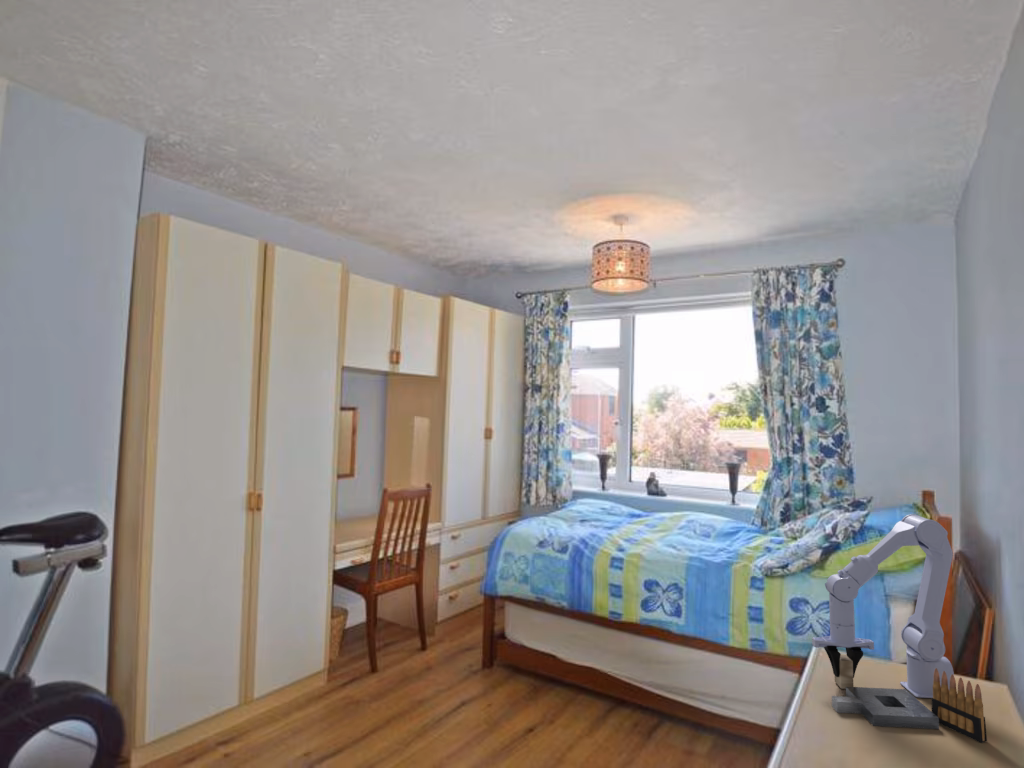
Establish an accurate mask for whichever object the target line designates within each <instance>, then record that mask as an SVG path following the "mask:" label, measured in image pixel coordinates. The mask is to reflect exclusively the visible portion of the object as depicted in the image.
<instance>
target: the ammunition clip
mask: <svg viewBox="0 0 1024 768" xmlns="http://www.w3.org/2000/svg"><path fill="white" fill-rule="evenodd" d="M963 680H964V679H962V677H959V678H958V682H957V683H956V677H955V675H953V674H952V675H951V677H950V688H948V680H947V675H946V673H945V671H943V674H942V680H941V682H942V683H941V686H940V677H939V672H938V670H937V668H935V671H934V680H933V698H931V712H933V713H934V714H935V715H936V716H937V717H938V718H939V725H941V726H943V727H946V728H948V729H950V730H952V731H953V732H954V731H955V732H957V733H958V734H961V735H963V736H965V737H967V738H969V739H971V740H973V741H976V742H978V743H980V744H981V743H982V744H983V743H987V742H988V736H987V726H986V725H987V724H986V716H984V703H983V698H982V691H981V690H982V689H981V688H980V685H979V684H978V683H976V685H975V689H974V691H973V686H972V683H971V680H967V682H966V688H965V685H964V681H963Z"/></svg>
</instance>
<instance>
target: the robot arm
mask: <svg viewBox="0 0 1024 768" xmlns="http://www.w3.org/2000/svg"><path fill="white" fill-rule="evenodd" d="M948 534H949V532H948V531H947V529H945V528H944V526H943V525H941V523H939V522H938V521H936V520H933V519H930V518H926V517H923V516H921V515H918V514H915V513H911V514H907V515H905V516H904V517H902V519H901V520H900V521H897V522H896V523H895V524H894V526H893V528H892V529H891V530H890V531H889V532H888V533H887V534H886V535H885V536H884V537H883V538H882V539H881V540H880V541H879V542H878V543H877V544H876V545H875V546H874V547H873V548H872V549H871V550H870V551H869V552H868V553H867V554H858V555H856V556H854V555H853V556H852V557H851V558H850V560H851V561H850V562H849V563H848V564H847V565H845V567H843V568H842V569H839V570H837V573H835V574H831V575H829V577H828V578H827V579H826V582H825V583H824V586H825V589H826V590H827V592H828V593H829V595H828V596H829V602H828V603H829V604H828V606H829V607H828V610H829V632H830V633H829V634H830V635H827V636H819V637H814V636H813V637H811V639H812V641H811V642H812V643H811V644H812V646H813V647H814V648H816V649H817V648H818V649H819V648H823V649H824V650H825V652H826V653H825V654H826V655H827V657H828V659H829V662H830V665H831V667H832V672H833V675H834V677H835V676H836V677H839V676H840V669H839V662H840V655H842V653H840V652H839V649H838V648H840V649H841V648H842V649H843V648H845V654H846V656H848V657H849V658H850V659H851V660H852V661H853V679H854V678H855V675H856V671H857V667H858V664H859V663H860V662H861V661H860V660H861V659H862V658H863V656H864V651H863V650H862V649H868V650H875V641H873V640H871V639H869V638H860V637H856V626H855V625H856V624H855V619H856V618H855V605H854V604H855V602H854V601H855V600H854V599H856V598H858V594H859V590H860V588H861V587H862V586H863V585H865V584H866V583H867V582H869V581H870V580H871V579H872V578H873V577H874V576H876V575H877V574H878V571H879V565H880V564H882V563H883V562H885V560H887V559H888V558H889V557H891V556H892V555H893V554H895V553H896V552H897V551H898V550H900V549H901V548H902V547H909V546H910V547H916V546H919V548H920V549H921V550H922V551H923V553H925V559H924V562H923V563H924V564H923V569H922V574H921V579H920V584H919V589H918V593H917V599H916V603H915V604H916V605H915V608H914V609H915V610H914V613H913V614H911V615H910V616H909V617H908V618H907V622H906V623H905V625H904V626H903V628H901V629H902V630H901V632H900V633H901V634H900V636H901V640H902V641H903V643H904V644H905V645H906V649H905V651H906V652H905V653H906V678H907V679H906V680H907V681H900V682H899V684H900V685H901V686H902V687H903V688H904V689H906V690H907V691H908V692H909V693H910V694H911V695H913V696H914V697H915V698H920V699H932V698H933V680H934V671H935V668H937V670H938V672H939V677H940V686H941V683H942V682H941V680H942V674H943V671H945V673H946V675H947V680H948V688H950V677H951V675H952V674H953V675H954V674H955V673H954V668H953V664H952V663H951V661H950V660H949V659H948V657H946V656H944V655H945V653H946V645H945V643H944V638H945V634H944V630H943V628H942V625H941V622H940V621H941V615H942V612H943V607H944V600H945V597H946V596H945V595H946V591H947V586H948V582H949V577H950V571H951V567H952V562H953V557H954V555H953V554H954V553H953V550H952V547H951V543H950V541H949V539H948ZM954 676H955V675H954Z"/></svg>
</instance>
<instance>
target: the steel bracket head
mask: <svg viewBox="0 0 1024 768" xmlns="http://www.w3.org/2000/svg"><path fill="white" fill-rule="evenodd" d="M831 707H832V708H833V709H834V711H835V712H836V713H839V714H859V715H862V716H863V717H865V719H866V720H867V721H868V722H869V723H870V724H871V726H873V727H889V728H890V727H891V728H906V729H907V728H908V729H925V730H926V729H927V730H930V729H931V730H939V729H940V724H939V718H938V717H937V716H936V715H935V714H934V713H933V712H932V710H930V709H929V708H928V707H926V705H924V704H923V702H921V701H920V700H919V699H917V697H915V696H914V695H913V694H912V693H911V692H910V691H908V690H907V689H906V688H888V687H887V688H884V687H883V688H882V687H866V686H865V687H862V686H854V687H846V689H845V695H844V696H843V695H842V696H841V695H840V696H839V695H831Z"/></svg>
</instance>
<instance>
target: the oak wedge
mask: <svg viewBox="0 0 1024 768" xmlns="http://www.w3.org/2000/svg"><path fill="white" fill-rule="evenodd" d="M839 669H840V676H839V677H836V676H835V675H834V682H835V684H836V685H837V686H838V687H839V688H840V689H841V690H842V689H843V690H846V687H855V686H854V678H853V661H852V660H851V659H850V658H849V657H848V656H847V654H841V655H840V662H839Z"/></svg>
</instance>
